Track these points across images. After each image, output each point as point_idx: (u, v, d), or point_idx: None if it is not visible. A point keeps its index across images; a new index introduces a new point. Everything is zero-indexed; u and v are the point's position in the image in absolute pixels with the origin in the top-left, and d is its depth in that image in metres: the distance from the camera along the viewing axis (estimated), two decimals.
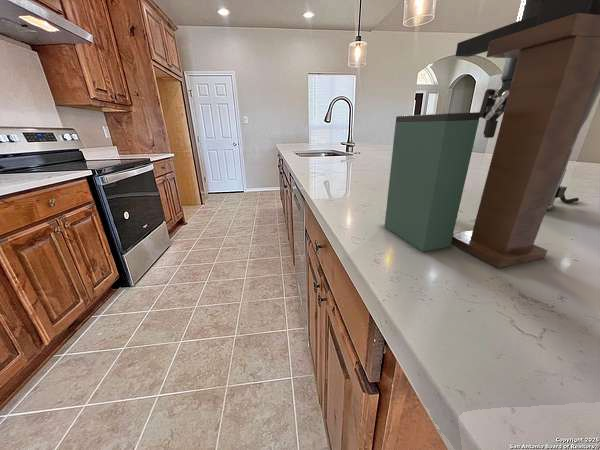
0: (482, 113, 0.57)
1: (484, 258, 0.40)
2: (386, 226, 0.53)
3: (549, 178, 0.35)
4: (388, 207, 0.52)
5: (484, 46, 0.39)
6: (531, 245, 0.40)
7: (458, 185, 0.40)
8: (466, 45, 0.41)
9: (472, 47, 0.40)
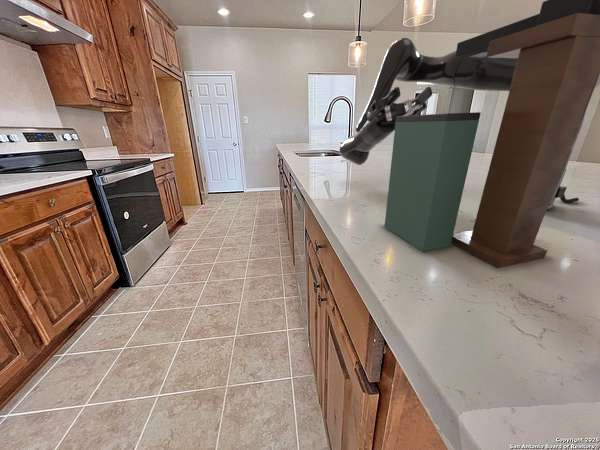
0: (422, 108, 0.62)
1: (484, 258, 0.40)
2: (386, 226, 0.53)
3: (549, 178, 0.35)
4: (388, 207, 0.52)
5: (484, 46, 0.39)
6: (531, 245, 0.40)
7: (458, 185, 0.40)
8: (466, 45, 0.41)
9: (472, 47, 0.40)
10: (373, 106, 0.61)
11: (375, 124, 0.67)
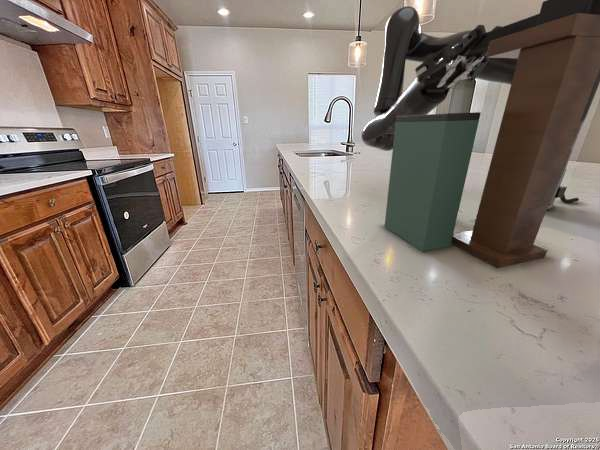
0: (481, 64, 0.45)
1: (484, 258, 0.40)
2: (386, 226, 0.53)
3: (549, 178, 0.35)
4: (388, 207, 0.52)
5: (484, 46, 0.39)
6: (531, 245, 0.40)
7: (458, 185, 0.40)
8: None
9: None
10: (434, 58, 0.44)
11: (419, 92, 0.50)
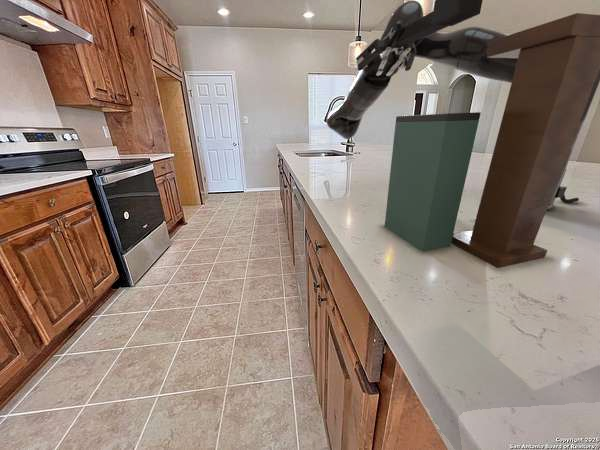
0: (411, 54, 0.51)
1: (484, 258, 0.40)
2: (386, 226, 0.53)
3: (549, 178, 0.35)
4: (388, 207, 0.52)
5: (404, 38, 0.45)
6: (531, 245, 0.40)
7: (458, 185, 0.40)
8: None
9: None
10: (369, 49, 0.50)
11: (363, 80, 0.57)
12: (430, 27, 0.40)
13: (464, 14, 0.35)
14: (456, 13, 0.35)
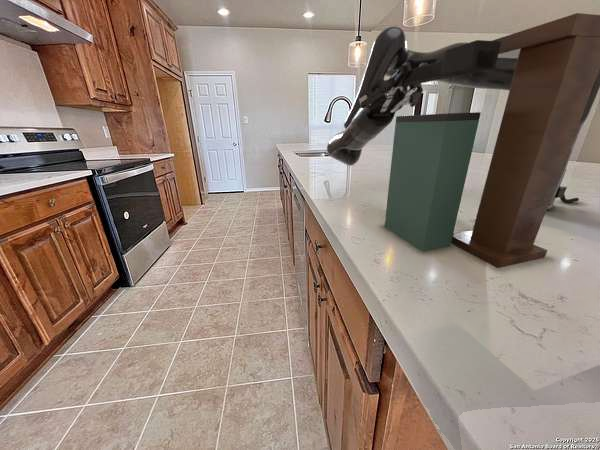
0: (417, 93, 0.49)
1: (484, 258, 0.40)
2: (386, 226, 0.53)
3: (549, 178, 0.35)
4: (388, 207, 0.52)
5: (410, 81, 0.43)
6: (531, 245, 0.40)
7: (458, 185, 0.40)
8: None
9: None
10: (373, 88, 0.48)
11: (366, 116, 0.54)
12: (440, 76, 0.37)
13: (478, 69, 0.32)
14: (469, 68, 0.32)
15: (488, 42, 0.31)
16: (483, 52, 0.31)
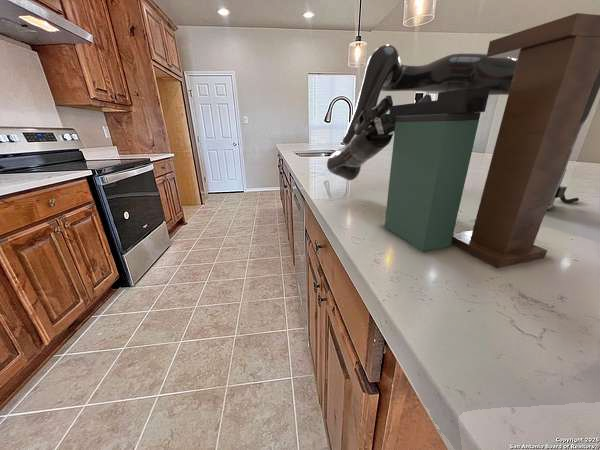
0: None
1: (484, 258, 0.40)
2: (386, 226, 0.53)
3: (549, 178, 0.35)
4: (388, 207, 0.52)
5: (406, 115, 0.45)
6: (531, 245, 0.40)
7: (458, 185, 0.40)
8: (395, 110, 0.47)
9: (399, 113, 0.47)
10: (361, 118, 0.50)
11: (364, 138, 0.56)
12: None
13: (469, 112, 0.34)
14: (461, 112, 0.34)
15: (478, 89, 0.33)
16: (473, 98, 0.33)
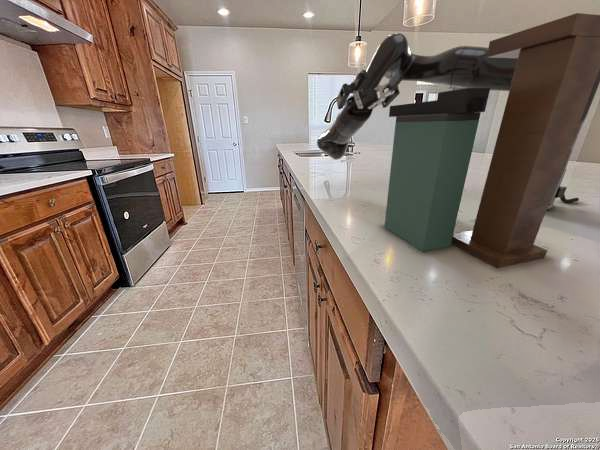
0: (394, 95, 0.58)
1: (484, 258, 0.40)
2: (386, 226, 0.53)
3: (549, 178, 0.35)
4: (388, 207, 0.52)
5: (406, 115, 0.45)
6: (531, 245, 0.40)
7: (458, 185, 0.40)
8: (395, 110, 0.47)
9: (399, 113, 0.47)
10: (341, 92, 0.57)
11: (347, 113, 0.63)
12: None
13: (469, 112, 0.34)
14: (461, 112, 0.34)
15: (478, 89, 0.33)
16: (473, 98, 0.33)
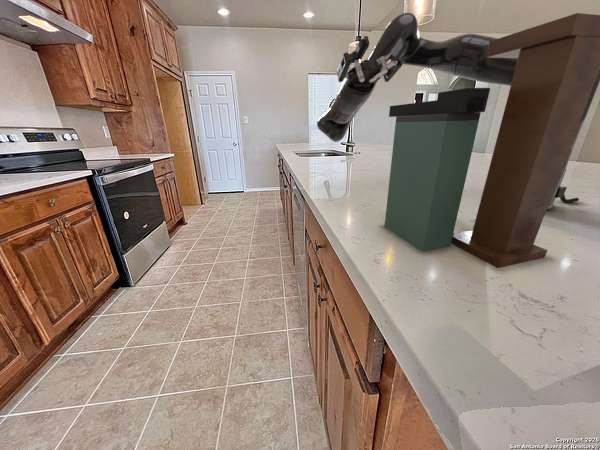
0: (397, 66, 0.56)
1: (484, 258, 0.40)
2: (386, 226, 0.53)
3: (549, 178, 0.35)
4: (388, 207, 0.52)
5: (406, 115, 0.45)
6: (531, 245, 0.40)
7: (458, 185, 0.40)
8: (395, 110, 0.47)
9: (399, 113, 0.47)
10: (342, 63, 0.55)
11: (347, 86, 0.60)
12: None
13: (469, 112, 0.34)
14: (461, 112, 0.34)
15: (478, 89, 0.33)
16: (473, 98, 0.33)
